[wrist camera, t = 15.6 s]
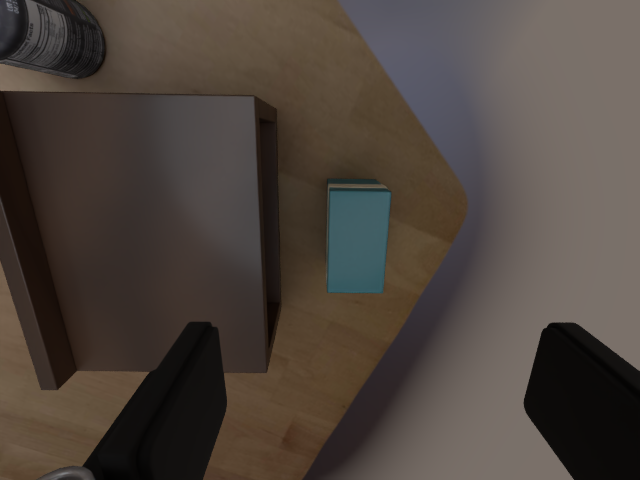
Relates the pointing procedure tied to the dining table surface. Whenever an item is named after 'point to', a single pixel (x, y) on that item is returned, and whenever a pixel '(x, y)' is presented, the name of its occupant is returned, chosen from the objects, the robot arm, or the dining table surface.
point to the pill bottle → (50, 37)
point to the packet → (356, 235)
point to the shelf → (139, 227)
